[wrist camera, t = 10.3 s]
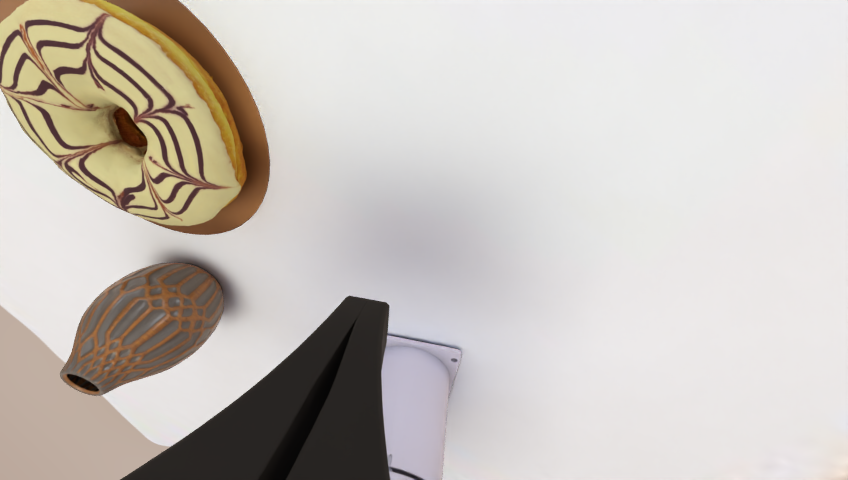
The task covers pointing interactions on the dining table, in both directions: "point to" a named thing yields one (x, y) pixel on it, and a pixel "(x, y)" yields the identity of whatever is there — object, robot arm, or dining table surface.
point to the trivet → (166, 13)
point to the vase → (143, 326)
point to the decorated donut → (121, 109)
